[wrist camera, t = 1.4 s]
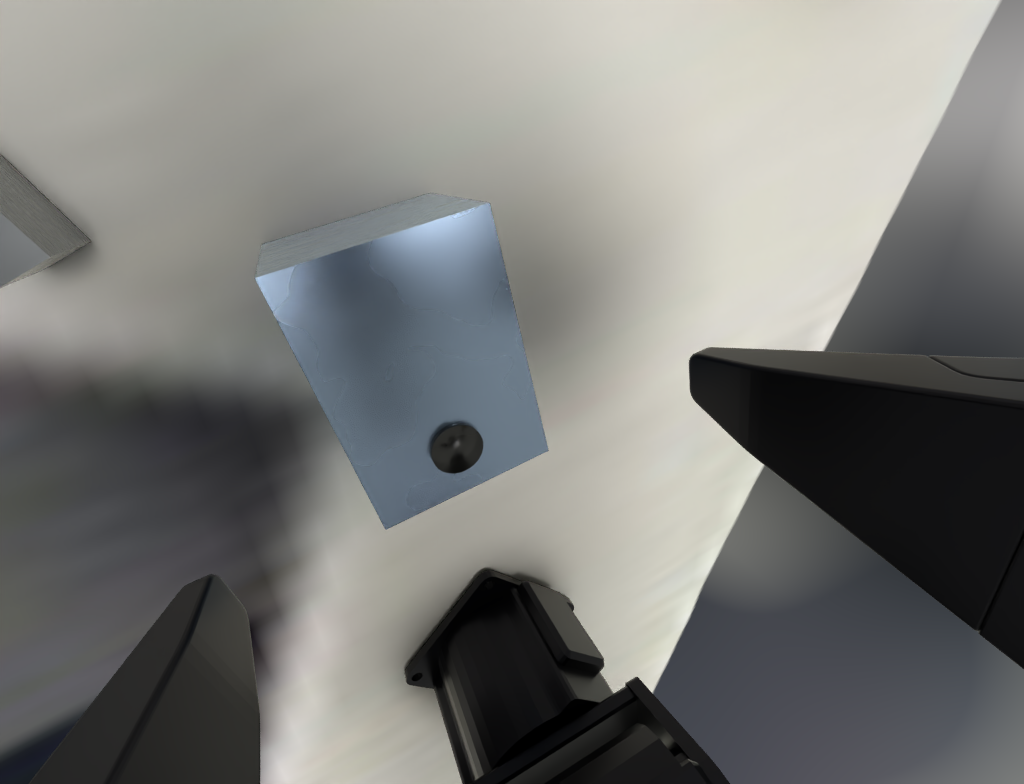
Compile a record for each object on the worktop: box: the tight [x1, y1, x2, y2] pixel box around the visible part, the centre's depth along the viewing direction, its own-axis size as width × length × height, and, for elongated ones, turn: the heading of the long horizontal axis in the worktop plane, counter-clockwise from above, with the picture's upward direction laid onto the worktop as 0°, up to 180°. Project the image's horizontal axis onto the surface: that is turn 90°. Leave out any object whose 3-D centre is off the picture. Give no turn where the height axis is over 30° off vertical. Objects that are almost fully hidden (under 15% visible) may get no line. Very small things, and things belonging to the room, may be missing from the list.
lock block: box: [255, 193, 549, 529], centre depth 13 cm, size 5×7×5 cm
